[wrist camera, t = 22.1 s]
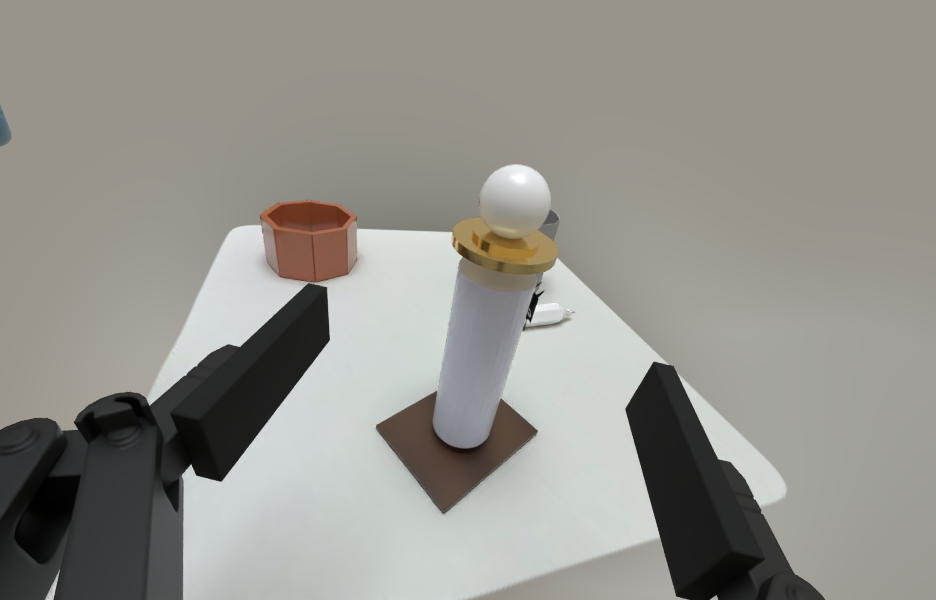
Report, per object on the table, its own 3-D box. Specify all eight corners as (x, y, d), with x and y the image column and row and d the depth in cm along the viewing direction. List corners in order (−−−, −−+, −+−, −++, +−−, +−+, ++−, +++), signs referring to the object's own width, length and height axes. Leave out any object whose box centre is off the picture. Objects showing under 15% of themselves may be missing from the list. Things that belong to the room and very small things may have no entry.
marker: (571, 323, 45) (452, 338, 39) (565, 307, 46) (448, 320, 40) (584, 314, 43) (460, 329, 37) (578, 298, 44) (456, 310, 37)
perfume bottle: (467, 478, 25) (549, 193, 14) (407, 428, 28) (439, 153, 17) (510, 427, 29) (599, 176, 18) (455, 388, 32) (505, 147, 21)
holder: (290, 288, 41) (284, 239, 37) (257, 251, 46) (250, 205, 43) (368, 269, 47) (369, 225, 44) (332, 238, 52) (330, 197, 49)
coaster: (443, 514, 23) (444, 511, 23) (376, 428, 28) (376, 424, 27) (536, 433, 30) (538, 430, 29) (470, 374, 34) (470, 371, 34)
